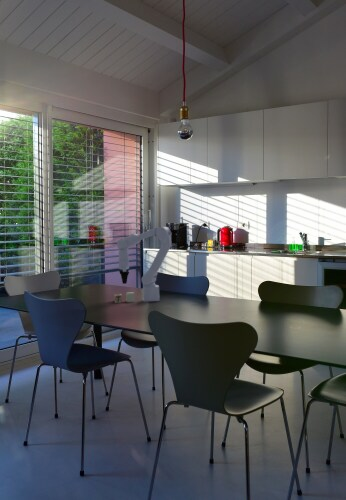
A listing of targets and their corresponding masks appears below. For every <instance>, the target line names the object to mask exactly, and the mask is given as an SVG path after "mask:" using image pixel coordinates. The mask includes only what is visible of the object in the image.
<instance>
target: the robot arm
mask: <svg viewBox="0 0 346 500" xmlns="http://www.w3.org/2000/svg"><path fill="white" fill-rule="evenodd" d="M172 235H173V234H172V231H171V229H170V227H168V226H165V225H164V226H158V227H155V228H151V229H149V230H147V231H144V232H142V233H140V234H137V233H131V235H129V236H124V238H120V239H119V240H117V243H116V245H117V248H118V266H117V267H116V269H119V270H118V271H119V274H120V277H121V283H122V284H127V282H128V277H129V274H130V271H129V269H130V264H129V263H130V261H129V259H130V258H129V257H130V256H129V248H130V247H132V246H135V245H138V244H139V243H141V240H145V239H147V238H149V237H150V238H151V237H152V236H153V237H156V238H158V239H159V241H160V244H161V246H159V247H160V248H159V249H158V251H157V253H156V255H155V257H154V259H153V261H152V262H151V265H150V267H149V268H148V270H147V271H146V273H145V274H144V275H142V277H141V279H140V280H141V284H142V299H141V301H142V302H159V301H161V300H160V286H159V285H158V284H156V281H157V276H158V275H159V273H158V272H159V270H160V268H161V266H162V264H163V262H164V260H165V259H166V256H167V254H168V252H169V250H170V249H171V247H172Z"/></svg>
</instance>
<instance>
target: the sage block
mask: <svg viewBox="0 0 346 500" xmlns="http://www.w3.org/2000/svg"><path fill="white" fill-rule="evenodd" d="M135 296H136V292H133V291H130V292H126V293H125V301H126V302H127V303H133V302H134V303H135V302H136V297H135Z"/></svg>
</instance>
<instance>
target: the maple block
mask: <svg viewBox="0 0 346 500" xmlns="http://www.w3.org/2000/svg"><path fill="white" fill-rule="evenodd" d="M113 295H114V303H115V304H117V303H123V294H122V293H114V294H113Z"/></svg>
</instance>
